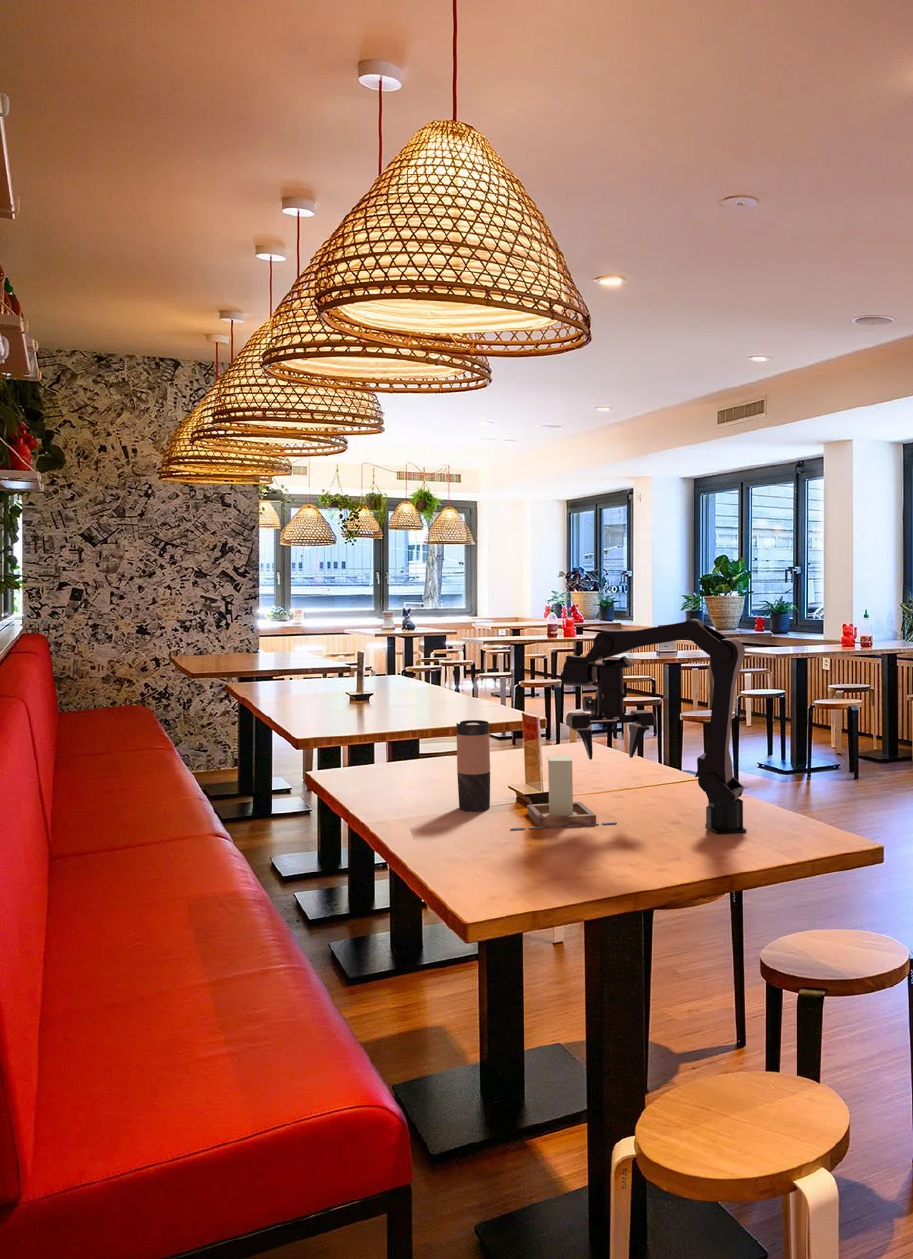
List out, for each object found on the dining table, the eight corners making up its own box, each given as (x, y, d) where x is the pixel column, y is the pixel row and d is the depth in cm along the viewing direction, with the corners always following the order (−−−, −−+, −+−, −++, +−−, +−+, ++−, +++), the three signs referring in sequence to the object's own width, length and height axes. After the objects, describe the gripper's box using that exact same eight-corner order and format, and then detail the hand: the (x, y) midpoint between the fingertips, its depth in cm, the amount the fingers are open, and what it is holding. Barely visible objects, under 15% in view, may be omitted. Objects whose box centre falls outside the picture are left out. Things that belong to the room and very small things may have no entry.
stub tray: (580, 810, 214) (580, 801, 213) (596, 824, 201) (596, 815, 201) (527, 813, 212) (527, 804, 212) (539, 827, 200) (539, 818, 200)
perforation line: (615, 823, 202) (615, 821, 202) (616, 824, 201) (616, 822, 201) (510, 829, 199) (510, 827, 199) (511, 830, 198) (511, 828, 198)
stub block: (571, 814, 209) (570, 756, 208) (573, 819, 204) (572, 760, 203) (549, 814, 209) (548, 756, 209) (550, 820, 204) (548, 760, 204)
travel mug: (496, 809, 216) (494, 723, 215) (465, 813, 213) (463, 726, 212) (483, 802, 223) (481, 719, 222) (453, 806, 220) (451, 721, 219)
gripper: (639, 682, 214) (639, 750, 215) (559, 684, 212) (560, 753, 213) (656, 687, 203) (656, 759, 204) (572, 690, 201) (573, 763, 202)
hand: (610, 758), depth 206 cm, fingers open, 9 cm apart
